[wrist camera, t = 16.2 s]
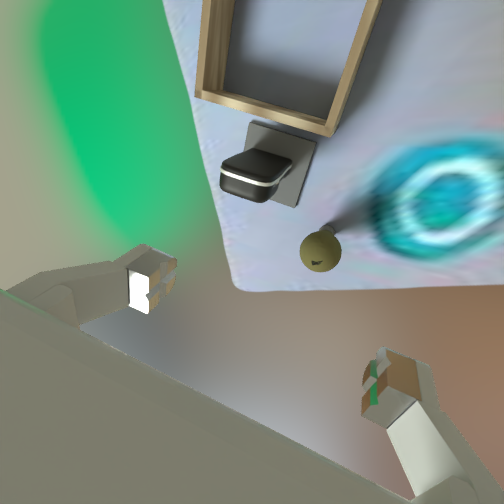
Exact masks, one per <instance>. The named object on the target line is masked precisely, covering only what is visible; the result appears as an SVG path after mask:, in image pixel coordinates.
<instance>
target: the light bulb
mask: <svg viewBox="0 0 504 504" xmlns="http://www.w3.org/2000/svg"><path fill="white" fill-rule="evenodd" d="M334 234H335V232H334V229H333V228H332V227H331V226H328V225H325V226H322V227H321V228H320V229H319V231H317V232H314V233H311V234H310V235H308V236H307V237H306V238H305V239H304V240H303V242H302V244H301V246H300V257H301V260H302V262H303V264H304V265H305V266H306V267H307V268H309V269H310V270H312V271H315V272H326V271H329V270H331V269H333V268H334V267H335V266H336V265H337V264H338V262H339V260H340V258H341V251H342V250H341V245H340V243H339V241H338V240H337V238H336V237H335V236H334Z"/></svg>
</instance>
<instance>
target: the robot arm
mask: <svg viewBox="0 0 504 504" xmlns="http://www.w3.org/2000/svg"><path fill="white" fill-rule="evenodd" d="M176 266H177V259H176V258H175V257H173V256H171V255H168V254H166V253H164V252H162V251H159V250H157V249H155V248H152V247H150V246H148V245H146V244H140V245H138V246H137V247H135V248H133V249H132V250H130V251H129V252H127V253H126V254H124V255H123V256H121V257H119V258H118V259H116V260H115V261H114V262H111V261H105V262H99V263H93V264H87V265H81V266H75V267H69V268H63V269H57V270H51V271H45V272H40V273H38V274H36V275H34V276H32V277H30V278H28V279H26V280H25V281H23V282H21V283H19V284H17V285H16V286H14V287H12V288H10V289H8V290H6V291H4V290H2V289H0V504H504V491H503V489H502V488H501V487H500V485H499V484H498V483H497V481H496V480H495V479H494V477H493V476H492V475H491V473H490V472H489V471H488V469H487V468H486V466H485V465H484V464H483V462H482V461H481V460H480V458H479V457H478V456H477V454H476V453H475V452H474V450H473V449H472V448H471V446H470V445H469V444H468V442H467V441H466V440H465V438H464V437H463V436H462V434H461V433H460V432H459V430H458V429H457V428H456V426H455V425H454V424H453V422H452V421H451V419H450V418H449V417H448V415H447V414H446V413H445V412H442V411H441V410H440V405H439V401H438V396H437V392H436V387H435V383H434V379H433V374H432V369H431V367H430V366H429V365H427V364H425V363H422V362H420V361H418V360H415V359H412V358H410V357H407V356H405V355H403V354H400V353H398V352H395V351H393V350H390V349H388V348H386V347H381V348H380V349H379V350H378V352H377V353H376V359H375V360H371V361H370V362H369V364H368V365H367V367H366V370H365V372H364V375H363V383H362V386H363V388H364V390H365V392H366V393H365V395H364V396H363V397H362V410H361V416H362V417H364V418H367V419H368V420H370V421H372V422H375V423H376V424H378V425H380V426H382V427H384V428H386V429H387V433H388V435H389V437H390V439H391V442H392V444H393V446H394V448H395V450H396V453H397V455H398V457H399V460H400V462H401V464H402V466H403V469H404V471H405V473H406V475H407V478H408V480H409V482H410V484H411V486H412V489H413V491H414V493H415V495H416V498H414V499H412V500H411V501H409V500H407V499H405V498H403V497H401V496H399V495H397V494H395V493H394V492H391V491H390V490H388V489H386V488H384V487H382V486H380V485H378V484H376V483H374V482H372V481H370V480H369V479H366V478H365V477H363V476H361V475H359V474H357V473H355V472H353V471H351V470H349V469H347V468H345V467H343V466H342V465H339V464H338V463H336V462H334V461H332V460H330V459H328V458H326V457H324V456H322V455H320V454H318V453H316V452H314V451H312V450H311V449H309V448H307V447H305V446H303V445H301V444H299V443H297V442H295V441H293V440H291V439H289V438H287V437H285V436H284V435H282V434H280V433H278V432H276V431H274V430H272V429H270V428H268V427H266V426H264V425H262V424H260V423H258V422H256V421H255V420H253V419H250V418H248V417H247V416H245V415H243V414H241V413H239V412H237V411H235V410H233V409H231V408H229V407H227V406H226V405H224V404H222V403H220V402H218V401H216V400H214V399H212V398H210V397H208V396H206V395H204V394H202V393H201V392H199V391H197V390H195V389H193V388H191V387H189V386H187V385H185V384H183V383H181V382H179V381H177V380H176V379H174V378H172V377H170V376H168V375H166V374H164V373H162V372H160V371H158V370H156V369H154V368H152V367H151V366H148V365H146V364H145V363H143V362H141V361H139V360H137V359H135V358H133V357H131V356H129V355H127V354H125V353H123V352H122V351H120V350H118V349H116V348H114V347H112V346H110V345H108V344H106V343H104V342H102V341H100V340H98V339H97V338H95V337H93V336H91V335H89V334H87V333H85V332H83V331H81V330H80V327H79V325H80V324H83V323H86V322H89V321H91V320H94V319H97V318H99V317H102V316H105V315H107V314H110V313H112V312H115V311H118V310H120V309H123V308H126V307H128V306H129V305H130V306H132V307H134V308H136V309H139V310H141V311H143V312H145V313H149V312H150V311H151V310H152V309H153V308H154V307H155V306H156V305H157V304H158V303H159V298H160V297H164V296H166V295H167V294H168V293H169V292H170V291H171V289H172V288H173V286H174V283H175V280H176V274H175V272H174V270H173V269H174V268H176Z"/></svg>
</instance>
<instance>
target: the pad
mask: <svg viewBox="0 0 504 504" xmlns="http://www.w3.org/2000/svg"><path fill="white" fill-rule="evenodd" d="M315 145H316V142H314V141H310V140H307V139H304V138H300V137H297V136H294V135H291V134H287V133H284V132H281V131H278V130H274V129H271V128H268V127H264V126H261V125H258V124H255V123H251V122H250V123H249V126H248V131H247V136H246V142H245V147H244V152H245V151H247V150H249V149H251V148H255V149H259V150H262V151H265V152H269V153H272V154H275V155H279V156H282V157H285V158H288V159H291V160H292V167H291V168H290V172H289V174H288V175H287V177H286V178H284V179H282V180H281V181H280V183H279V186H278V189H277V191H276V193H275V194H274V195H273V196H272V197H271V198H270V200H273V201H275V202H278V203H281V204H284V205H287V206H290V207H292V208H295V206H296V203H297V200H298V197H299V194H300V191H301V188H302V185H303V182H304V179H305V176H306V173H307V170H308V167H309V163H310V160H311V157H312V154H313V151H314V148H315Z"/></svg>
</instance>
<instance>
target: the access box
mask: <svg viewBox="0 0 504 504" xmlns="http://www.w3.org/2000/svg"><path fill="white" fill-rule="evenodd" d="M382 1H383V0H367V2H366V5H365V8H364V11H363V14H362V17H361V20H360V23H359V26H358V29H357V32H356V35H355V38H354V41H353V44H352V47H351V50H350V53H349V56H348V59H347V62H346V65H345V68H344V71H343V74H342V77H341V80H340V83H339V86H338V89H337V92H336V95H335V98H334V101H333V104H332V107H331V110H330V113H329V116H328V118H327V120H325V119H321V118H318V117H314V116H311V115H307V114H304V113H300V112H297V111H294V110H290V109H287V108H283V107H280V106H276V105H273V104H269V103H266V102H262V101H259V100H255V99H252V98H248V97H245V96H241V95H238V94H235V93H231V92H228V91H224V90H223V86H224V79H225V72H226V64H227V57H228V49H229V42H230V35H231V27H232V20H233V13H234V5H235V0H203V4H202V15H201V27H200V39H199V50H198V62H197V73H196V85H195V96H194V97H196V98H200V99H203V100H206V101H210V102H213V103H216V104H220V105H223V106H226V107H230V108H233V109H236V110H240V111H243V112H246V113H250V114H253V115H256V116H260V117H263V118H266V119H270V120H273V121H276V122H280V123H283V124H286V125H290V126H293V127H296V128H300V129H303V130H306V131H310V132H313V133H316V134H320V135H323V136H327V137H331V136H332V135H333V134H334V133H335V132H336V129H337V127H338V124H339V121H340V118H341V116H342V113H343V110H344V107H345V104H346V102H347V99H348V96H349V93H350V90H351V88H352V85H353V82H354V79H355V77H356V74H357V71H358V68H359V65H360V63H361V60H362V57H363V54H364V51H365V49H366V46H367V43H368V40H369V37H370V35H371V32H372V29H373V26H374V24H375V21H376V18H377V15H378V12H379V10H380V7H381V4H382Z"/></svg>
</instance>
